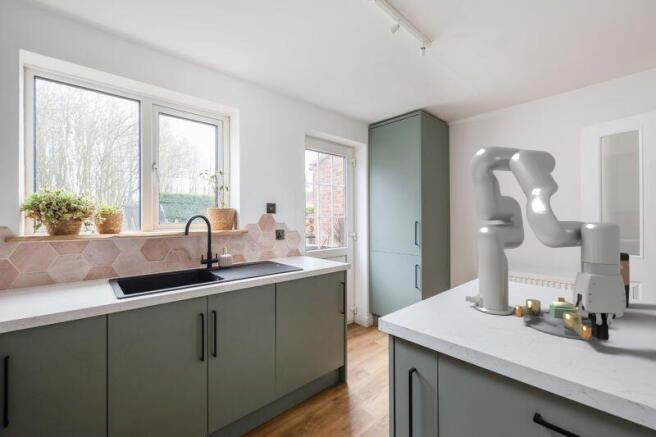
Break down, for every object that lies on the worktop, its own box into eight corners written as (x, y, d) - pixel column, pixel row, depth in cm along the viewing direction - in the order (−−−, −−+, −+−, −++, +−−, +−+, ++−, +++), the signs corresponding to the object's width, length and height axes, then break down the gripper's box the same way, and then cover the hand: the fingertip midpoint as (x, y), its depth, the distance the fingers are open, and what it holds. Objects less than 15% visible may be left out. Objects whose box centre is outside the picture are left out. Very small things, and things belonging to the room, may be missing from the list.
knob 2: (593, 319, 88) (593, 306, 88) (580, 319, 89) (580, 306, 89) (565, 307, 100) (565, 296, 100) (553, 307, 100) (553, 296, 100)
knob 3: (561, 324, 85) (560, 311, 85) (577, 326, 83) (577, 312, 83) (578, 340, 74) (578, 325, 74) (598, 342, 73) (598, 327, 73)
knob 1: (529, 310, 98) (529, 298, 98) (543, 313, 94) (543, 301, 94) (511, 316, 92) (510, 304, 92) (524, 320, 89) (524, 307, 89)
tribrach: (533, 334, 84) (533, 308, 84) (516, 312, 102) (516, 291, 102) (622, 344, 76) (622, 316, 76) (586, 318, 95) (586, 296, 95)
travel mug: (595, 302, 113) (595, 251, 112) (615, 302, 112) (615, 251, 112) (614, 308, 105) (614, 254, 105) (635, 308, 105) (635, 254, 104)
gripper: (616, 266, 78) (616, 332, 79) (559, 266, 79) (559, 331, 80) (644, 271, 71) (644, 344, 71) (581, 271, 72) (581, 344, 72)
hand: (599, 337), depth 75 cm, fingers closed
